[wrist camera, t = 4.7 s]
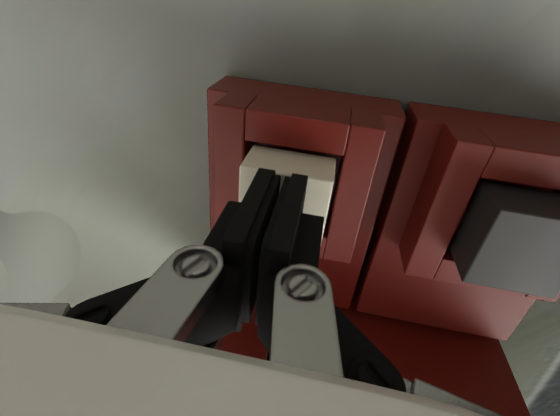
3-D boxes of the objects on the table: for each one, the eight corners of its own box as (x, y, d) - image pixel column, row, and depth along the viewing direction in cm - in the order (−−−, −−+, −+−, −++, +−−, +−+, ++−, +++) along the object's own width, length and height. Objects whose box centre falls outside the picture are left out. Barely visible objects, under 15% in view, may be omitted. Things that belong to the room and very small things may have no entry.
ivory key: (253, 144, 13) (239, 166, 11) (336, 157, 13) (334, 181, 11) (249, 213, 15) (236, 240, 13) (322, 226, 15) (319, 256, 13)
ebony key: (481, 180, 12) (500, 209, 11) (576, 195, 12) (611, 227, 10) (448, 248, 14) (461, 282, 12) (531, 263, 14) (555, 300, 12)
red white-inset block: (225, 74, 16) (186, 100, 12) (400, 99, 15) (415, 134, 11) (224, 254, 22) (198, 308, 18) (349, 278, 21) (348, 340, 17)
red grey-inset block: (409, 100, 15) (427, 135, 11) (603, 126, 14) (693, 175, 11) (355, 279, 21) (356, 342, 17) (490, 305, 20) (521, 376, 17)
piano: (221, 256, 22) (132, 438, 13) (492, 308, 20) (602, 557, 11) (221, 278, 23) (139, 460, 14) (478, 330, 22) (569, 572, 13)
